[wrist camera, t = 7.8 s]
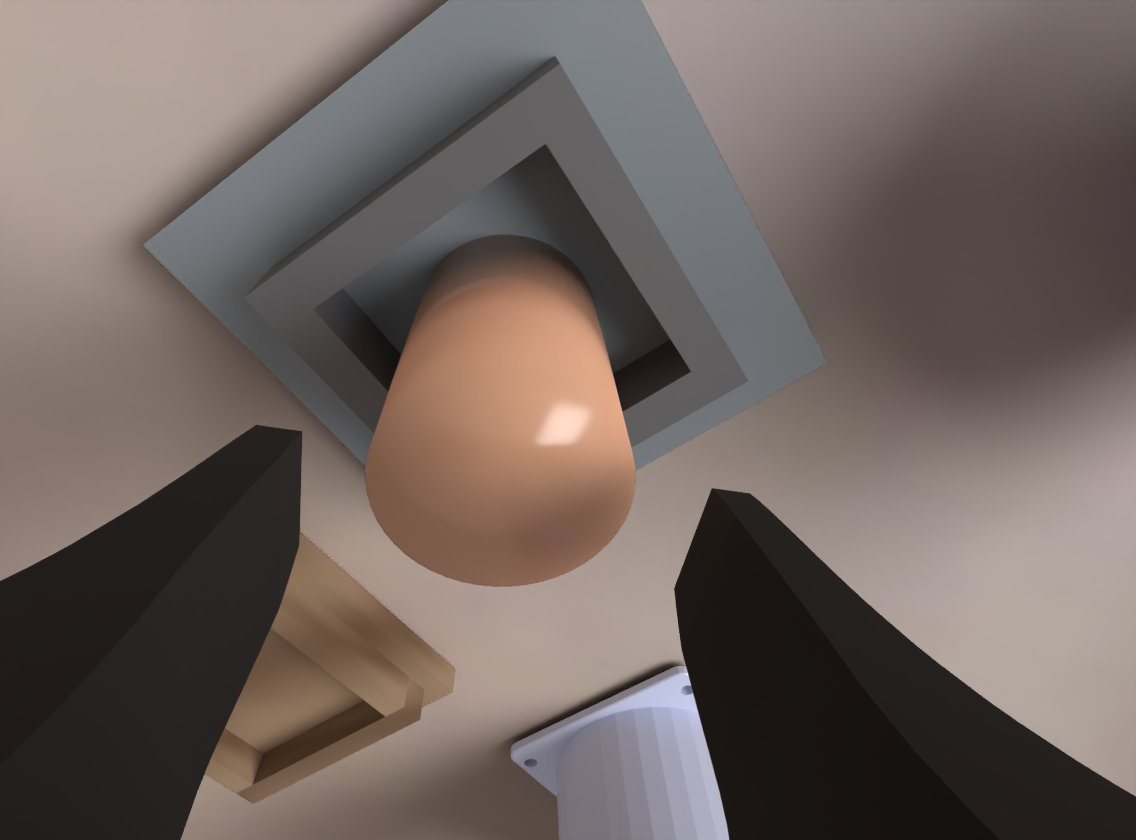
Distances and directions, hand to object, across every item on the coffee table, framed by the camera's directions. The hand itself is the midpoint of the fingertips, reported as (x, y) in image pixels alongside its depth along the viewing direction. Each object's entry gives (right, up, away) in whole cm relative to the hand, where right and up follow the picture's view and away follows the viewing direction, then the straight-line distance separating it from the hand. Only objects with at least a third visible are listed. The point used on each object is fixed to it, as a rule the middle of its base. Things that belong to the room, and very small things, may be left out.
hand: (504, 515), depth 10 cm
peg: (-1, +4, +7) cm, 8 cm away
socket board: (-1, +5, +8) cm, 9 cm away
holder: (-9, -7, +14) cm, 18 cm away
